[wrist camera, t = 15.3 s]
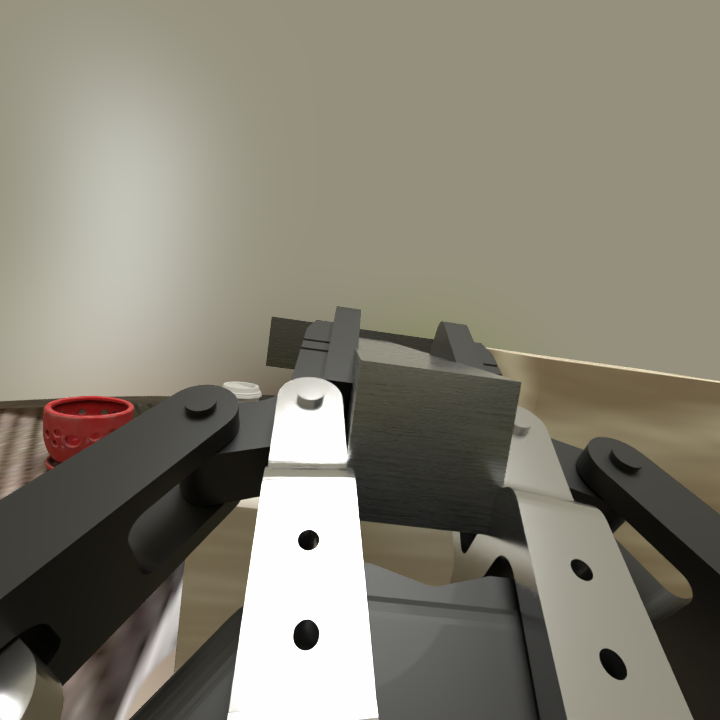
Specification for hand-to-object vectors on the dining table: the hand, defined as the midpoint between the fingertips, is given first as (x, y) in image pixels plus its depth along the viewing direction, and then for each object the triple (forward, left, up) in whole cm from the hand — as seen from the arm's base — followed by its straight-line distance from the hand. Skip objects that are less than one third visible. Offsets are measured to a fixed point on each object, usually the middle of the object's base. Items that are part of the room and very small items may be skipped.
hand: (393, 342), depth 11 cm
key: (-1, -5, -3) cm, 6 cm away
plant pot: (+34, -62, -32) cm, 78 cm away
